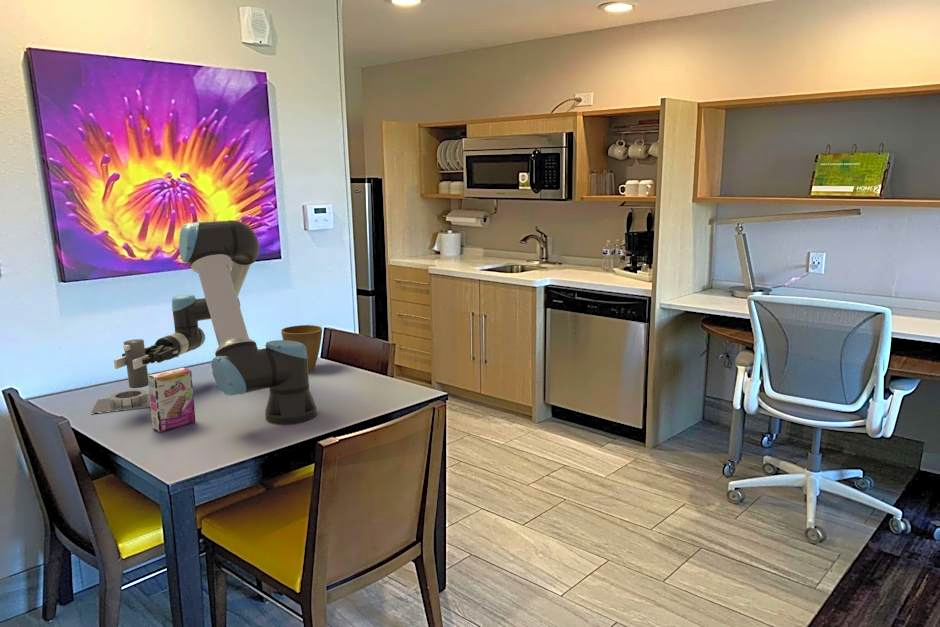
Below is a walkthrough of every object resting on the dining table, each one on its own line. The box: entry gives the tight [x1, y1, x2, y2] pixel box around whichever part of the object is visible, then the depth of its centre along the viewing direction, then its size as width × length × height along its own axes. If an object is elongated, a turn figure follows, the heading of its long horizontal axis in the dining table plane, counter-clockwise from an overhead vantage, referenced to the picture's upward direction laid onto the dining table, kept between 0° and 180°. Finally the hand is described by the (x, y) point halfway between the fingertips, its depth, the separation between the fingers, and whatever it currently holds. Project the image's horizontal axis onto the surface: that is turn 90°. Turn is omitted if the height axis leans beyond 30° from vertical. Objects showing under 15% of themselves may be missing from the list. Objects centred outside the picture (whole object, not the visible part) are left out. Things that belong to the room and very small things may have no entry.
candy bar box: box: [147, 367, 196, 433], centre depth 199 cm, size 11×5×16 cm, turn 141°
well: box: [90, 388, 150, 414], centre depth 221 cm, size 14×20×3 cm
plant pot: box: [280, 324, 323, 373], centre depth 255 cm, size 15×15×16 cm
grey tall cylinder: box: [122, 338, 149, 389], centre depth 207 cm, size 7×6×14 cm
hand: (124, 364), depth 203 cm, fingers closed on grey tall cylinder, 5 cm apart
